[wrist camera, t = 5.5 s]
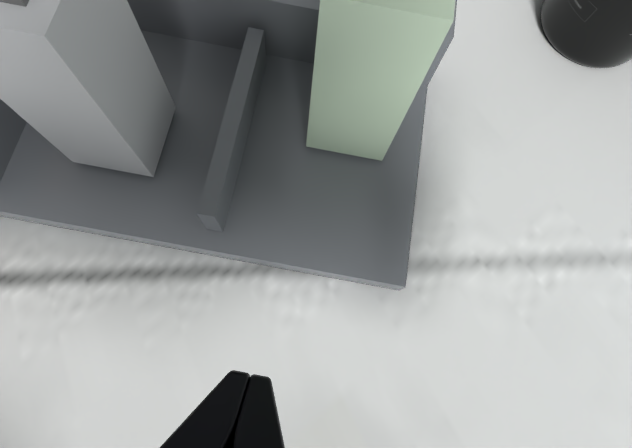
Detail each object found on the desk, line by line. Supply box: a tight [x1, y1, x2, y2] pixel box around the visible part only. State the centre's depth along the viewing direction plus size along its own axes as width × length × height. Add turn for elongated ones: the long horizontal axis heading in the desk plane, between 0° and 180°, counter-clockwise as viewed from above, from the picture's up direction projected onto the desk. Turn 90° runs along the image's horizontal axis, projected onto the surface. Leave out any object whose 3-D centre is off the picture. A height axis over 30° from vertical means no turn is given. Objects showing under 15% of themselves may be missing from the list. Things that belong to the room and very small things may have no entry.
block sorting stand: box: [0, 0, 457, 290], centre depth 20 cm, size 14×30×6 cm, turn 80°
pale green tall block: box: [306, 0, 455, 161], centre depth 17 cm, size 4×4×10 cm
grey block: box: [0, 0, 176, 177], centre depth 16 cm, size 4×4×10 cm
